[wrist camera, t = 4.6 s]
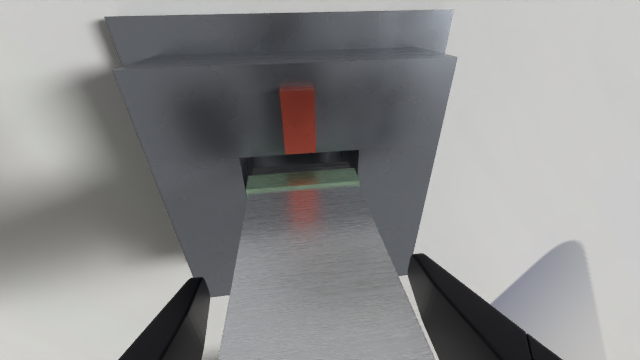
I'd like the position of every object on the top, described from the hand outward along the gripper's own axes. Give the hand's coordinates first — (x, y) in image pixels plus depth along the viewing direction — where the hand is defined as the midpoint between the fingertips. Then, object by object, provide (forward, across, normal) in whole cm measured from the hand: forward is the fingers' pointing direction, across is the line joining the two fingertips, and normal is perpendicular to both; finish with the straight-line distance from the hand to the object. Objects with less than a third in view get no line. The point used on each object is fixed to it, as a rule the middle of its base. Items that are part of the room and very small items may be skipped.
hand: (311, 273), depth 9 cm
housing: (+8, 0, 0) cm, 8 cm away
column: (+5, 0, 0) cm, 5 cm away
